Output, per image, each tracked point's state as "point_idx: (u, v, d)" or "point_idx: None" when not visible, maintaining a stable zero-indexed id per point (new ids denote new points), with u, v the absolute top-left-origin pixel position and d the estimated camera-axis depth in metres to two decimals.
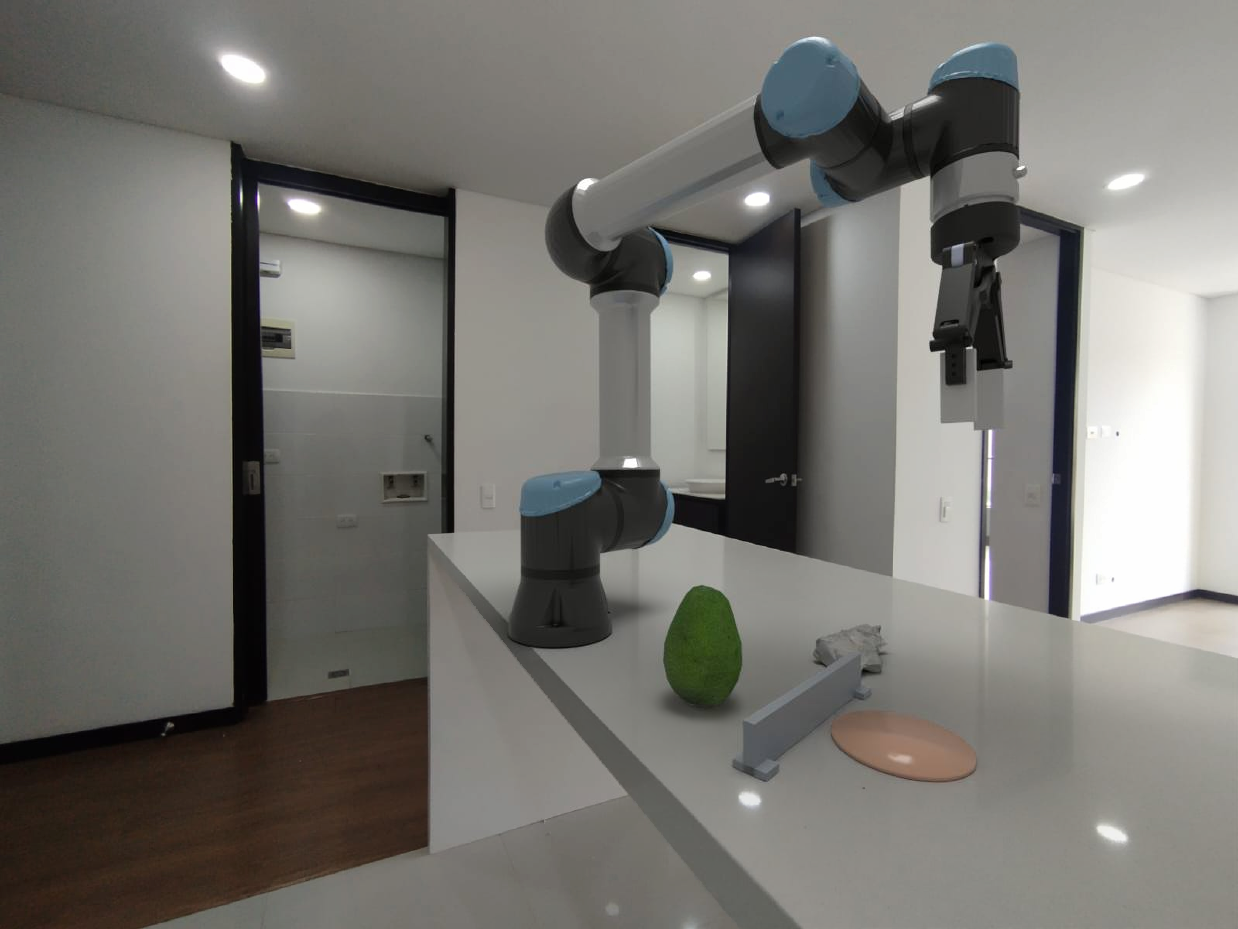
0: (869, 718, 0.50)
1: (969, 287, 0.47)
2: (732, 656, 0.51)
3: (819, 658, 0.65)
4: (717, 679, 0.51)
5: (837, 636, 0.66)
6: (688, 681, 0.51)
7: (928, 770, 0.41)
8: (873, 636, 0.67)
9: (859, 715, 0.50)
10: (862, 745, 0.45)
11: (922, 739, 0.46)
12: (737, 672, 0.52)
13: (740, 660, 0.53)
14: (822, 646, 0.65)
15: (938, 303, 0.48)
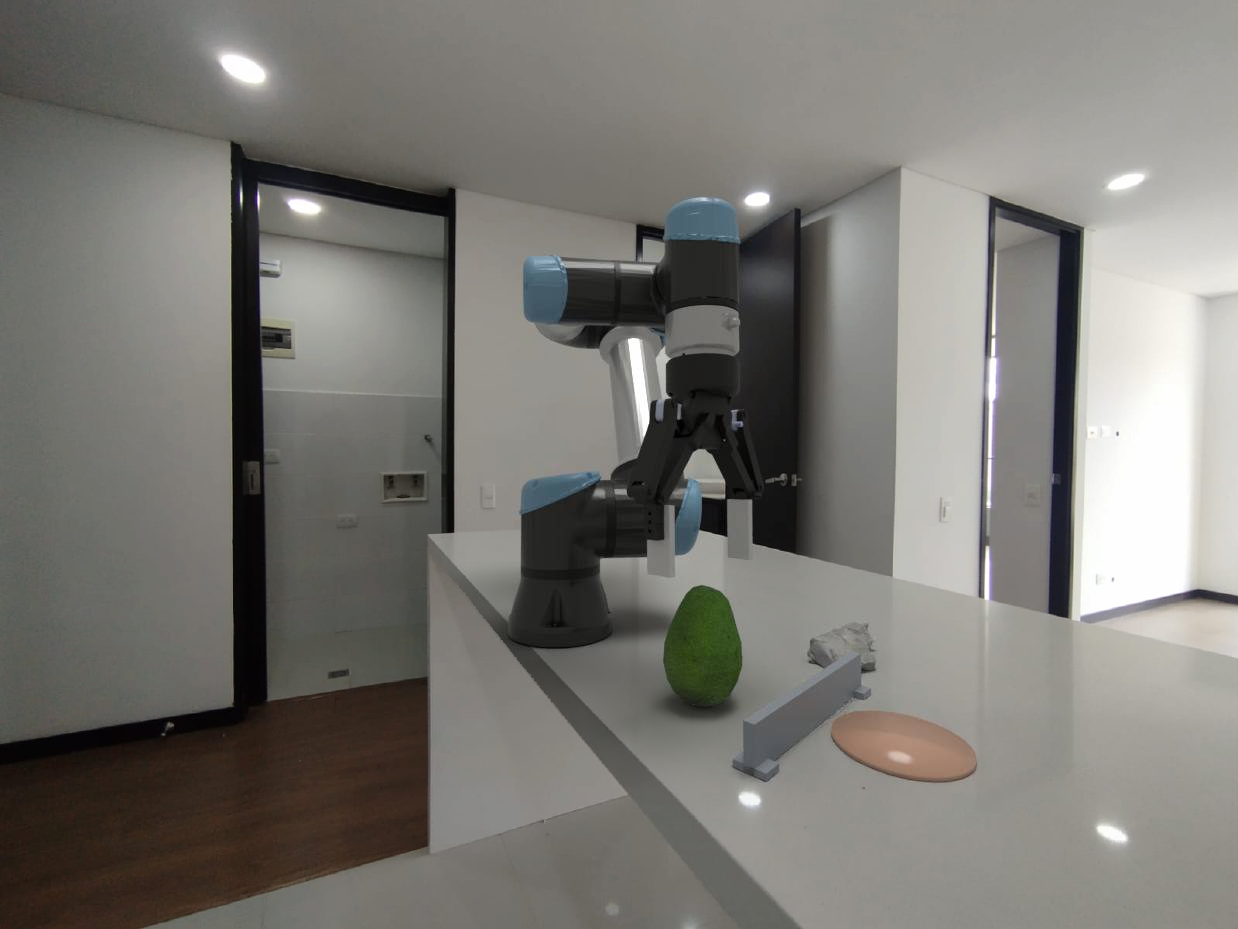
0: (869, 718, 0.50)
1: (660, 447, 0.48)
2: (732, 656, 0.51)
3: (814, 658, 0.65)
4: (717, 679, 0.51)
5: (830, 635, 0.67)
6: (688, 681, 0.51)
7: (928, 770, 0.41)
8: (863, 634, 0.68)
9: (859, 715, 0.50)
10: (862, 745, 0.45)
11: (922, 739, 0.46)
12: (737, 672, 0.52)
13: (740, 660, 0.53)
14: (816, 646, 0.65)
15: (637, 459, 0.49)
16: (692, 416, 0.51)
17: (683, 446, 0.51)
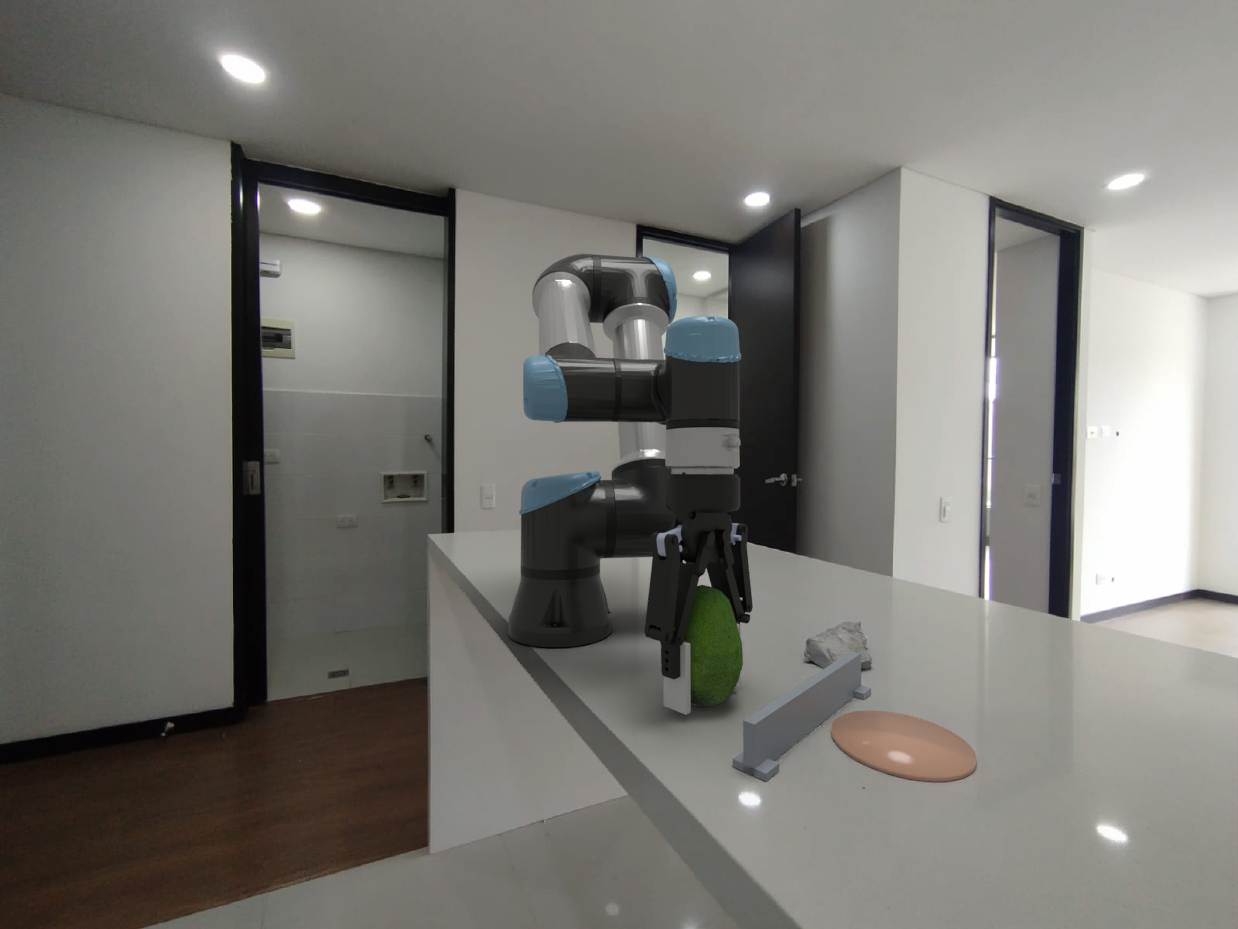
0: (869, 718, 0.50)
1: (669, 590, 0.49)
2: (732, 655, 0.51)
3: (811, 658, 0.65)
4: (718, 679, 0.51)
5: (825, 635, 0.67)
6: None
7: (928, 770, 0.41)
8: (857, 633, 0.68)
9: (859, 715, 0.50)
10: (862, 745, 0.45)
11: (922, 739, 0.46)
12: (738, 672, 0.52)
13: (740, 660, 0.53)
14: (813, 646, 0.65)
15: (648, 599, 0.50)
16: (693, 537, 0.52)
17: (689, 576, 0.51)
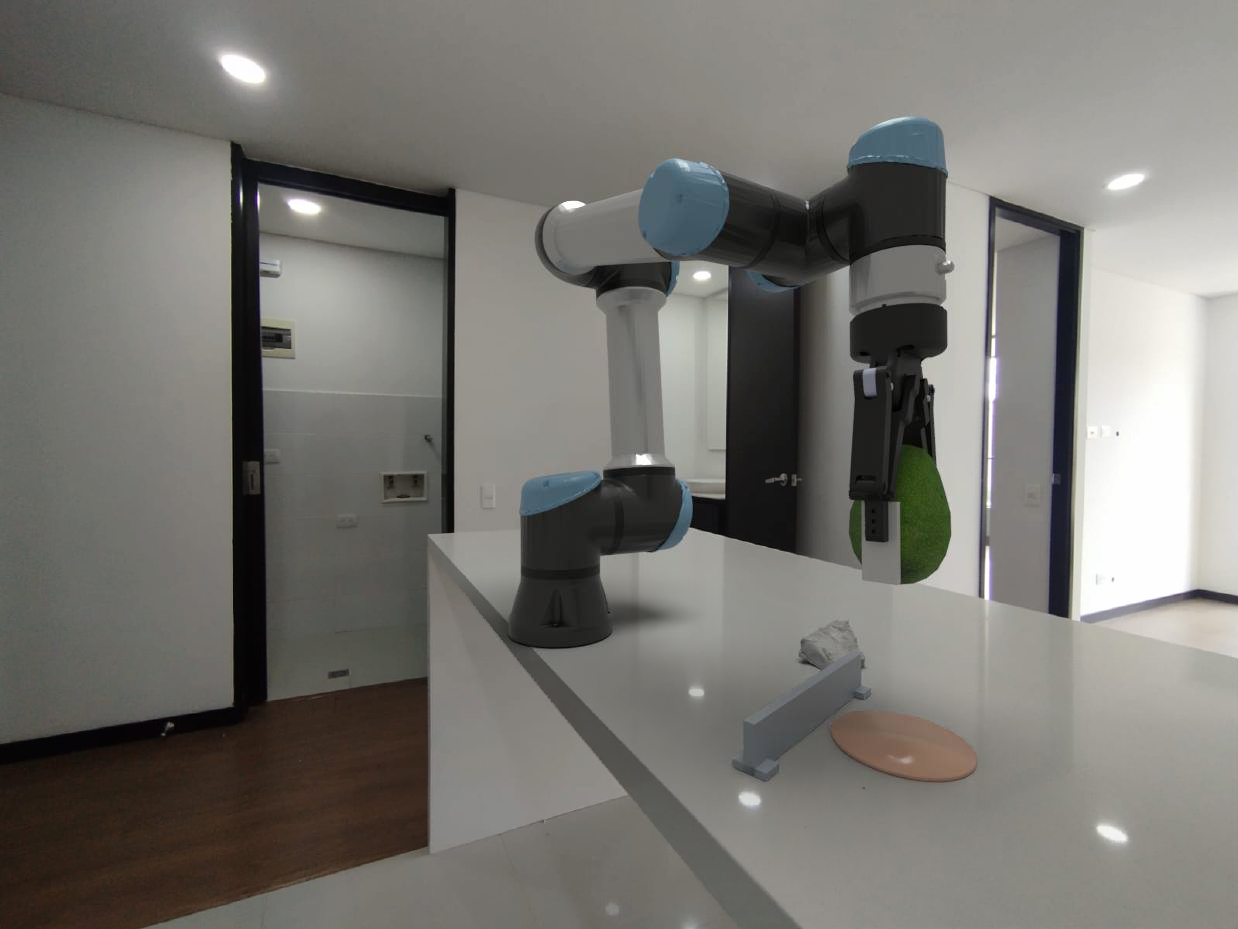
0: (869, 718, 0.50)
1: (884, 431, 0.41)
2: (947, 518, 0.43)
3: (806, 658, 0.65)
4: (933, 544, 0.42)
5: (818, 634, 0.67)
6: None
7: (928, 770, 0.41)
8: (847, 632, 0.69)
9: (859, 715, 0.50)
10: (862, 745, 0.45)
11: (922, 739, 0.46)
12: (949, 540, 0.44)
13: None
14: (808, 646, 0.65)
15: (853, 448, 0.42)
16: (899, 379, 0.43)
17: (895, 424, 0.43)
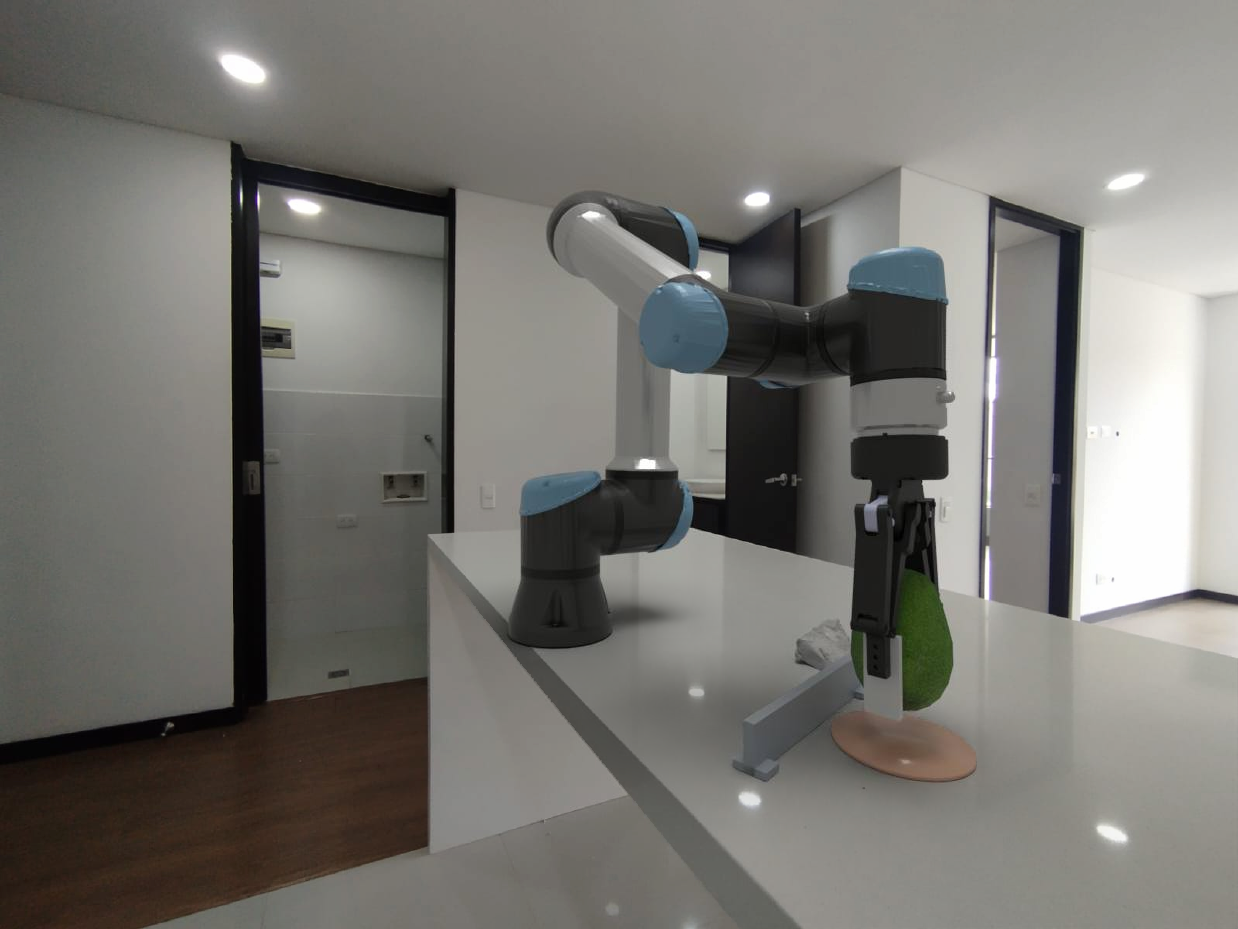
0: (869, 718, 0.50)
1: (886, 571, 0.40)
2: (949, 650, 0.43)
3: (803, 658, 0.65)
4: (935, 678, 0.42)
5: (813, 634, 0.67)
6: None
7: (928, 770, 0.41)
8: (839, 631, 0.69)
9: (859, 715, 0.50)
10: (862, 745, 0.45)
11: (922, 739, 0.46)
12: (951, 670, 0.44)
13: None
14: (804, 646, 0.65)
15: (854, 584, 0.42)
16: (900, 510, 0.43)
17: (896, 556, 0.43)
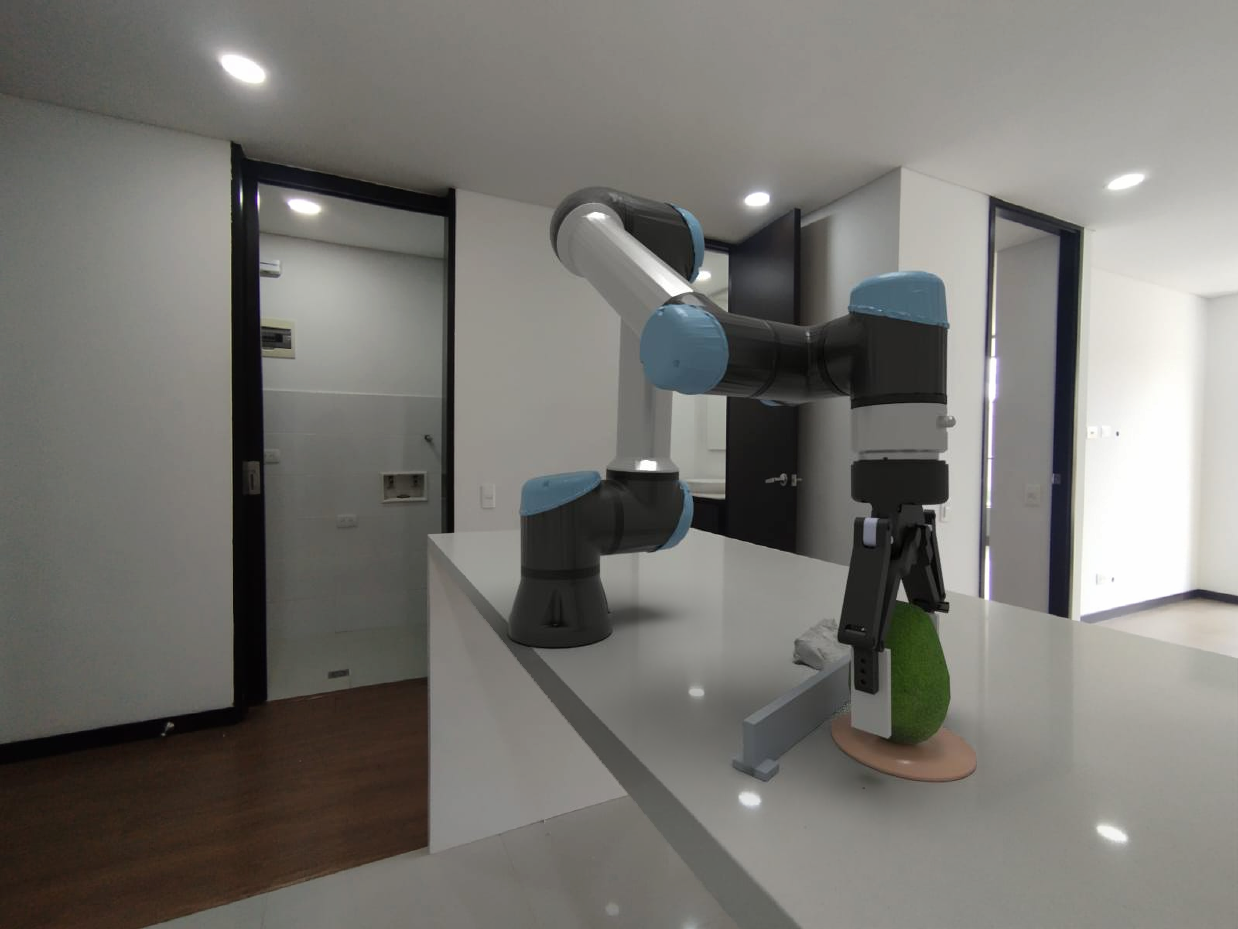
0: None
1: (880, 583, 0.40)
2: (946, 684, 0.43)
3: (801, 658, 0.65)
4: (932, 713, 0.42)
5: (810, 634, 0.67)
6: (895, 715, 0.43)
7: (928, 770, 0.41)
8: (836, 630, 0.69)
9: None
10: (862, 745, 0.45)
11: None
12: None
13: None
14: (802, 646, 0.65)
15: (846, 594, 0.41)
16: (899, 534, 0.43)
17: (892, 572, 0.42)
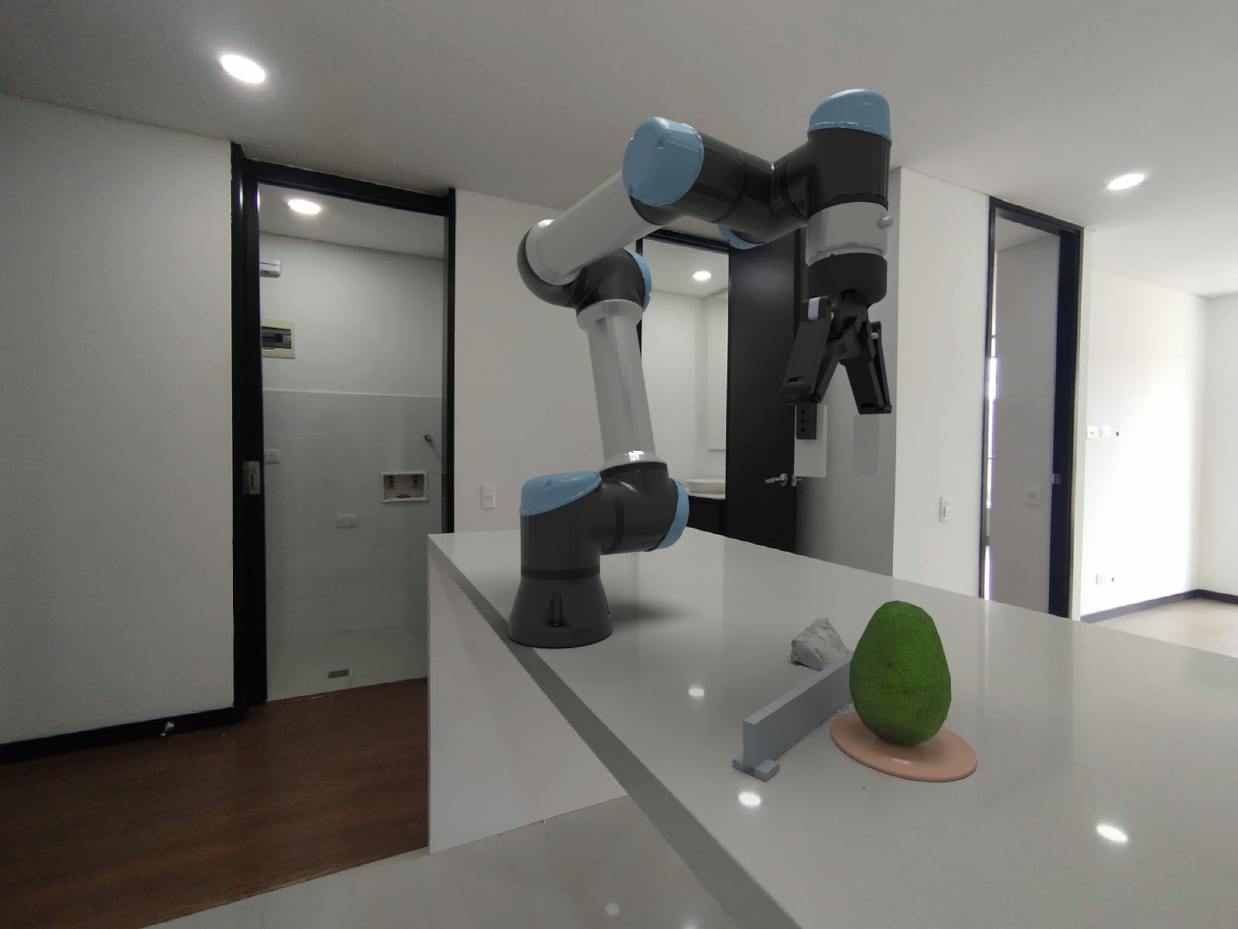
0: None
1: (818, 344, 0.47)
2: (947, 685, 0.43)
3: (798, 659, 0.65)
4: (933, 714, 0.42)
5: (807, 634, 0.67)
6: (896, 716, 0.43)
7: (928, 770, 0.41)
8: (830, 630, 0.70)
9: None
10: (862, 745, 0.45)
11: None
12: (949, 704, 0.44)
13: None
14: (800, 647, 0.65)
15: (791, 358, 0.48)
16: (841, 318, 0.50)
17: (833, 347, 0.50)
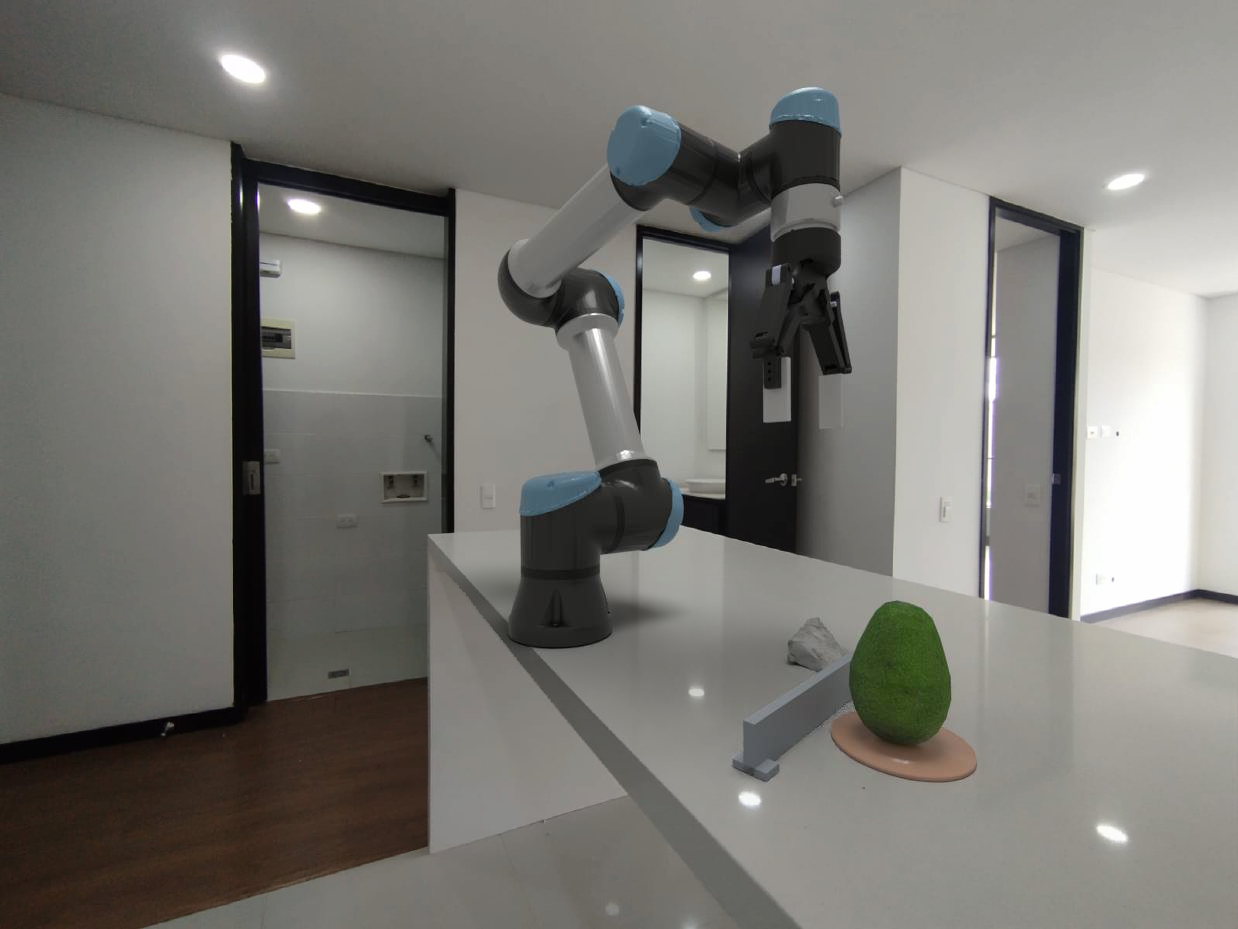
0: None
1: (780, 303, 0.54)
2: (947, 685, 0.43)
3: (795, 659, 0.65)
4: (933, 714, 0.42)
5: (802, 634, 0.67)
6: (896, 716, 0.43)
7: (928, 770, 0.41)
8: (823, 629, 0.70)
9: None
10: (862, 745, 0.45)
11: None
12: (949, 704, 0.44)
13: None
14: (796, 647, 0.65)
15: (757, 317, 0.55)
16: (801, 284, 0.57)
17: (795, 309, 0.57)
